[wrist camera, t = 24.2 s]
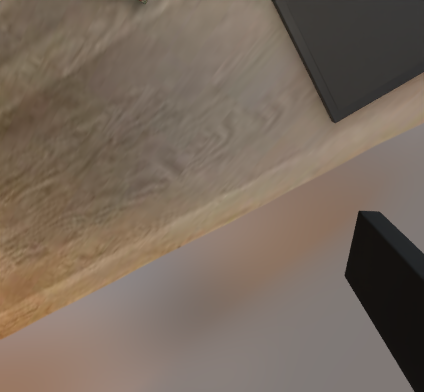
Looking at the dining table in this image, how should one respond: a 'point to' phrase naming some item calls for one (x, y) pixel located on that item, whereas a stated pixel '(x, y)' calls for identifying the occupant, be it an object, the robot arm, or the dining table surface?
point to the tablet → (356, 47)
